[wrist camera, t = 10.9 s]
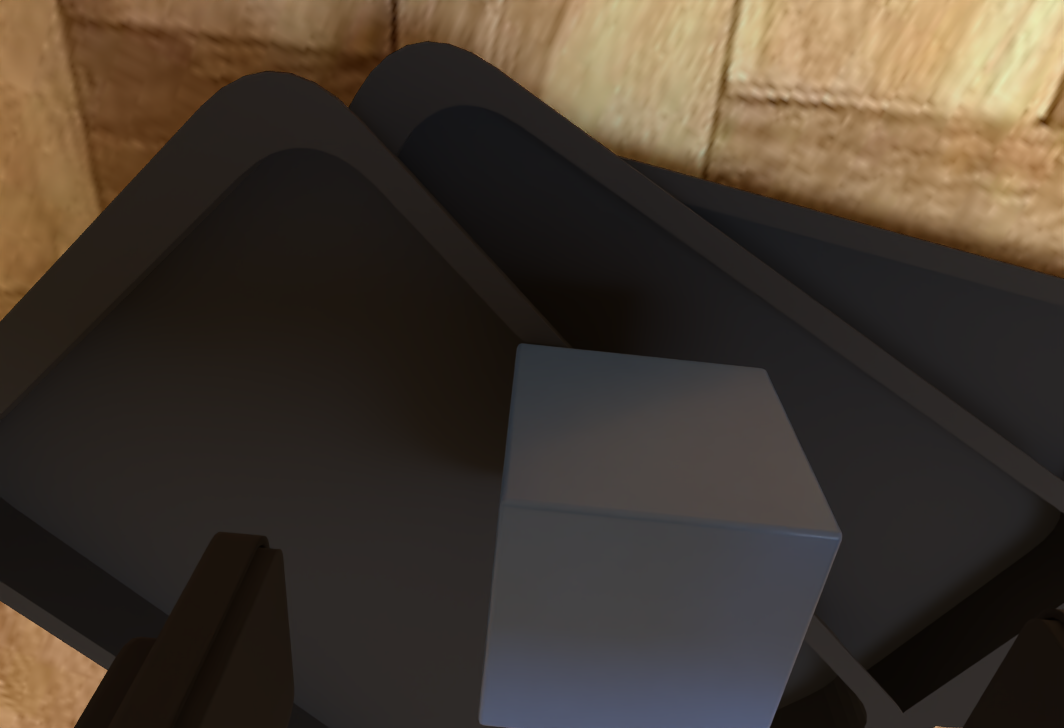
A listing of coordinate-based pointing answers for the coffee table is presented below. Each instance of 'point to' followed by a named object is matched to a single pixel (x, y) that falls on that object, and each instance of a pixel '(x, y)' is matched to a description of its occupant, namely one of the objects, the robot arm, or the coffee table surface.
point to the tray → (502, 391)
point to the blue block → (649, 546)
